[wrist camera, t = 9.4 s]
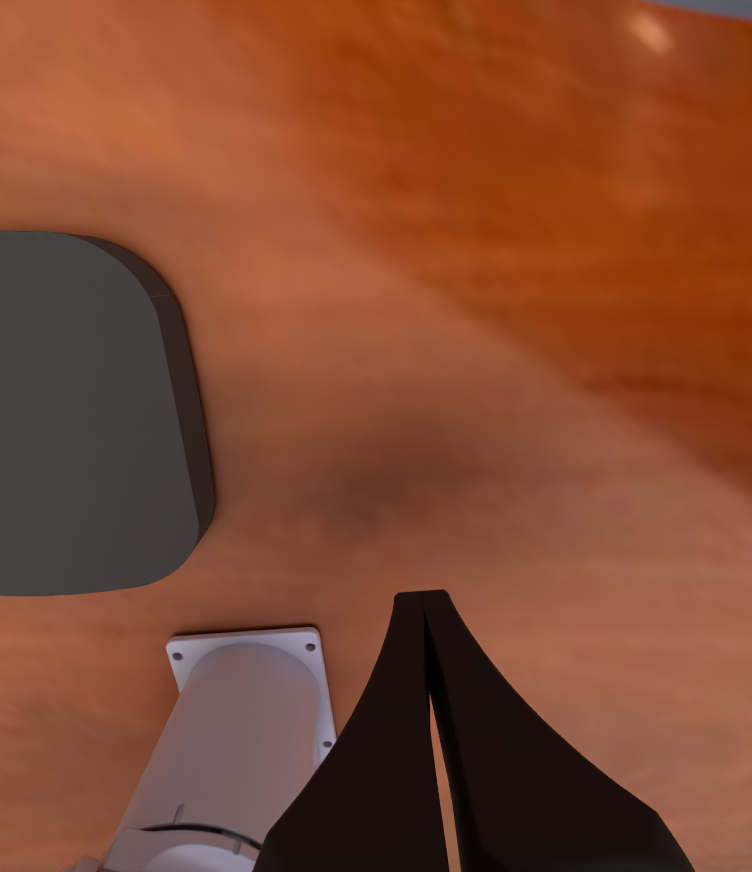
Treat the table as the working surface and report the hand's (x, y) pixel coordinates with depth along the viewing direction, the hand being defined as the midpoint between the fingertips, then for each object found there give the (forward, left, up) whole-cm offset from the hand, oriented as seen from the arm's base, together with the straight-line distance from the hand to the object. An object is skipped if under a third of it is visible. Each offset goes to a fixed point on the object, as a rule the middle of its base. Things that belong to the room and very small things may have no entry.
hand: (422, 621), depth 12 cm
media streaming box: (+4, +16, -10) cm, 19 cm away
